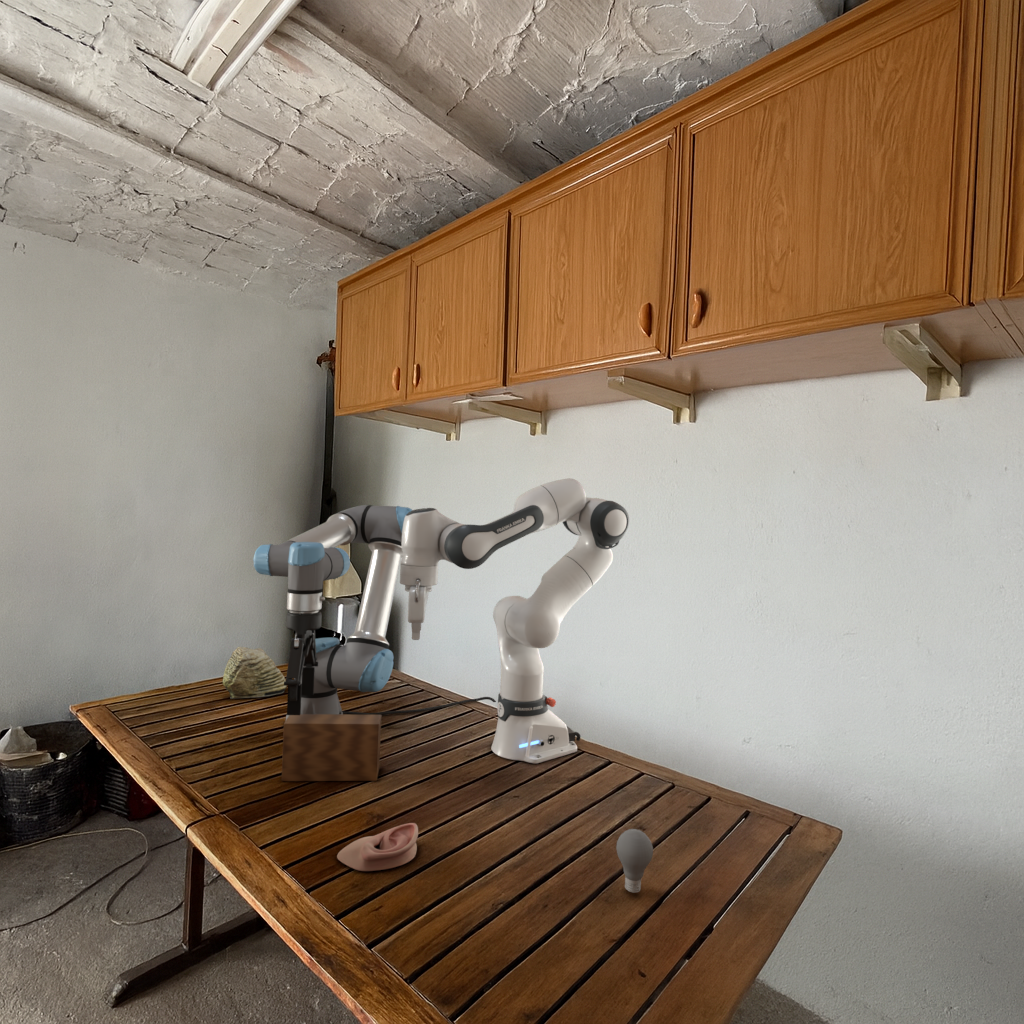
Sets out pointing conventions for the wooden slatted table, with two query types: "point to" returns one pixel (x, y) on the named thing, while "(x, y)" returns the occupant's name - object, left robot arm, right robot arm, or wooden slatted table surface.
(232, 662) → the fossil
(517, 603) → the right robot arm
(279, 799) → the wooden slatted table surface
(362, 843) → the anatomical model
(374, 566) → the left robot arm
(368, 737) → the box
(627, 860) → the light bulb
